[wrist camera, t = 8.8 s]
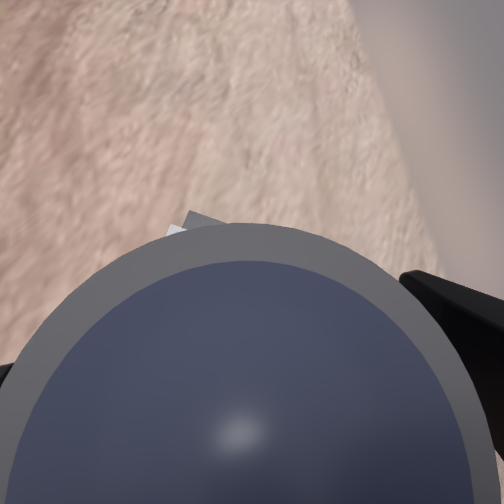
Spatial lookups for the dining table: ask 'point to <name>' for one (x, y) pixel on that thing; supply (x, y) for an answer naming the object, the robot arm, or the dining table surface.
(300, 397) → the lens
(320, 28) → the dining table surface
